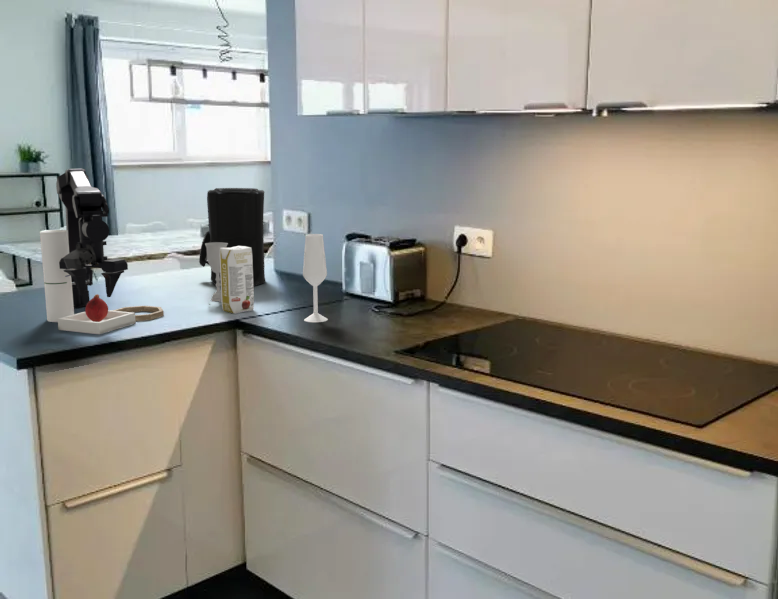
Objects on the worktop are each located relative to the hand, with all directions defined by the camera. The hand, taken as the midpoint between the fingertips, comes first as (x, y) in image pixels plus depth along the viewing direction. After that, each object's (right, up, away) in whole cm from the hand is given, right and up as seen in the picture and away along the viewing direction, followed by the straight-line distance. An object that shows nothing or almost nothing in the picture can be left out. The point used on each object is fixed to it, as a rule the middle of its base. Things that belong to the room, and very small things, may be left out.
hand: (95, 295), depth 215 cm
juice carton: (+34, -5, +22) cm, 41 cm away
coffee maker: (+23, +5, +69) cm, 73 cm away
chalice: (+25, -1, +38) cm, 46 cm away
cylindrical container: (-14, -7, +11) cm, 19 cm away
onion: (0, -8, +2) cm, 8 cm away
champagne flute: (+58, -7, +10) cm, 60 cm away
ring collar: (+7, -6, +15) cm, 17 cm away
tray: (0, -8, +2) cm, 9 cm away
